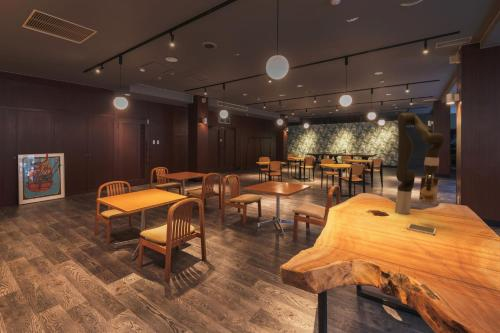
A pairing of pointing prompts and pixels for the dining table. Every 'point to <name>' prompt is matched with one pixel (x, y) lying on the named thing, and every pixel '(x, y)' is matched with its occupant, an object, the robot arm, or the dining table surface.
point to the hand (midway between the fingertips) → (428, 189)
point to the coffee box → (429, 195)
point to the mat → (421, 229)
